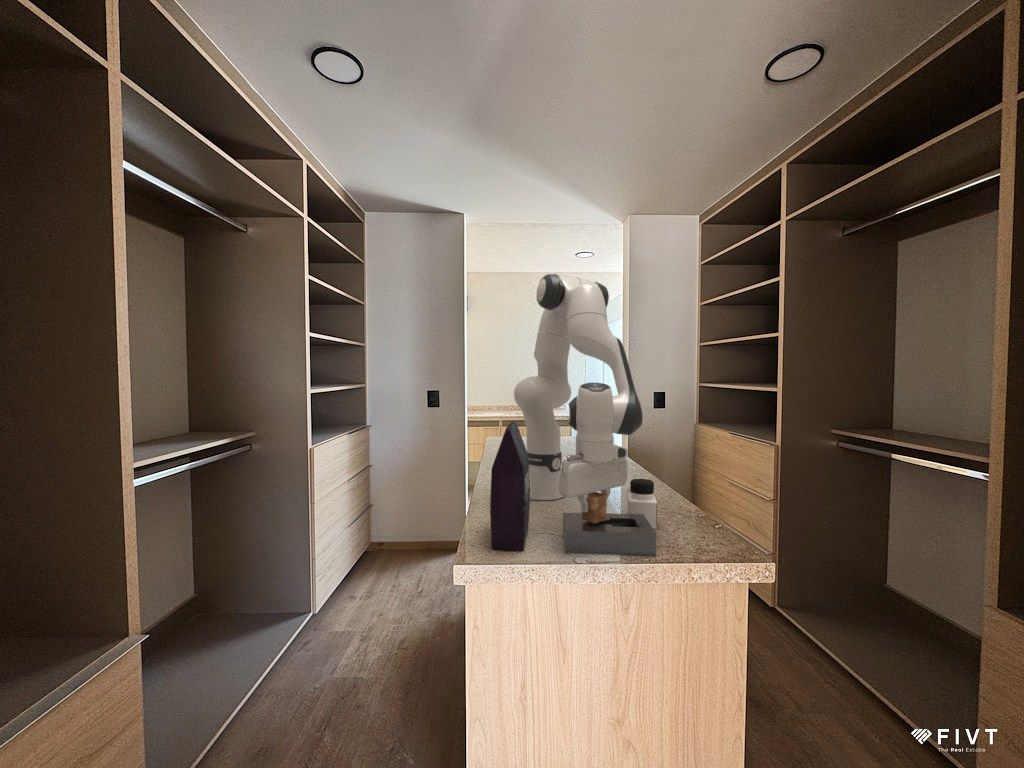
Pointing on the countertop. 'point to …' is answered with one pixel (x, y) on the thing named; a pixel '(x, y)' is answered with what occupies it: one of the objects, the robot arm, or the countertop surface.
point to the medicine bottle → (643, 500)
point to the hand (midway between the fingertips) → (594, 509)
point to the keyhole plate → (609, 535)
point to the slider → (595, 508)
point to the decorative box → (510, 492)
